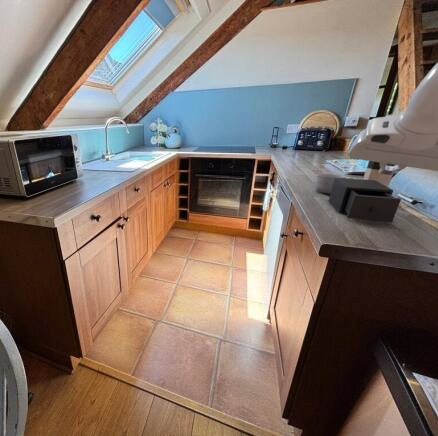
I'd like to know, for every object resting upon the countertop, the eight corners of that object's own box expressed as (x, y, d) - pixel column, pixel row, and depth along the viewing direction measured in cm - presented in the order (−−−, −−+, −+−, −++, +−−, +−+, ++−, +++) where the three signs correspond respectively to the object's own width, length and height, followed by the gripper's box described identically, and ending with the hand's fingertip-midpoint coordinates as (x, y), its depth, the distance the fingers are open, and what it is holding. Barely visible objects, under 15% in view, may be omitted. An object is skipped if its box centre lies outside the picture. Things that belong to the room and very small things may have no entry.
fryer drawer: (393, 224, 76) (403, 200, 73) (349, 219, 80) (356, 196, 77) (374, 208, 88) (381, 187, 85) (336, 205, 92) (342, 185, 89)
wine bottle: (356, 194, 107) (380, 121, 95) (382, 197, 102) (410, 121, 91) (357, 199, 101) (383, 121, 89) (384, 202, 96) (415, 121, 85)
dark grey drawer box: (383, 217, 83) (393, 190, 79) (338, 212, 87) (346, 187, 84) (366, 204, 95) (375, 180, 92) (328, 200, 100) (334, 177, 96)
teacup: (310, 192, 110) (314, 175, 107) (315, 187, 118) (319, 171, 115) (348, 198, 102) (354, 180, 98) (351, 193, 109) (357, 175, 106)
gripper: (484, 127, 51) (439, 172, 63) (363, 118, 61) (343, 157, 73) (483, 148, 49) (437, 190, 60) (358, 134, 59) (339, 173, 70)
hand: (385, 172), depth 67 cm, fingers closed
